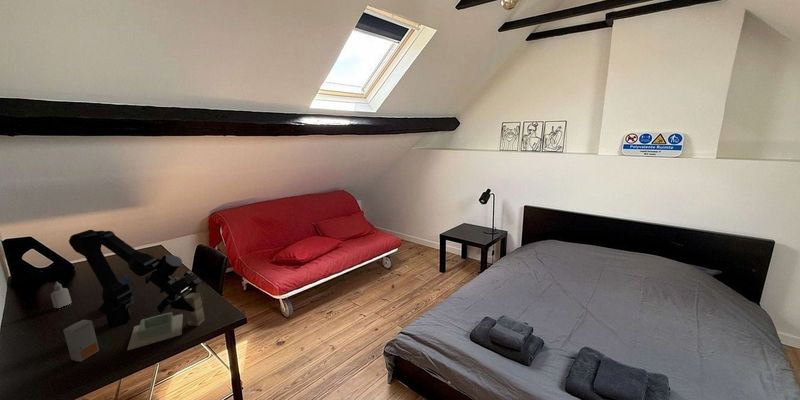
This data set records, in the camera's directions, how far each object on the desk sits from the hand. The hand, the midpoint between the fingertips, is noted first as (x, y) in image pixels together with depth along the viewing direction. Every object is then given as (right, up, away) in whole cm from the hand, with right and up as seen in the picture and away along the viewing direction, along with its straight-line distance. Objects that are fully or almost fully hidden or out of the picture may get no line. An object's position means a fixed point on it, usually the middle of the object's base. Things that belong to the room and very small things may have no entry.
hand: (197, 307), depth 129 cm
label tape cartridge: (-44, -4, +19) cm, 48 cm away
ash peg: (-1, -6, +2) cm, 7 cm away
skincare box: (-29, -11, -16) cm, 35 cm away
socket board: (-13, -8, -3) cm, 16 cm away
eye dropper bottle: (-70, -5, +16) cm, 72 cm away
